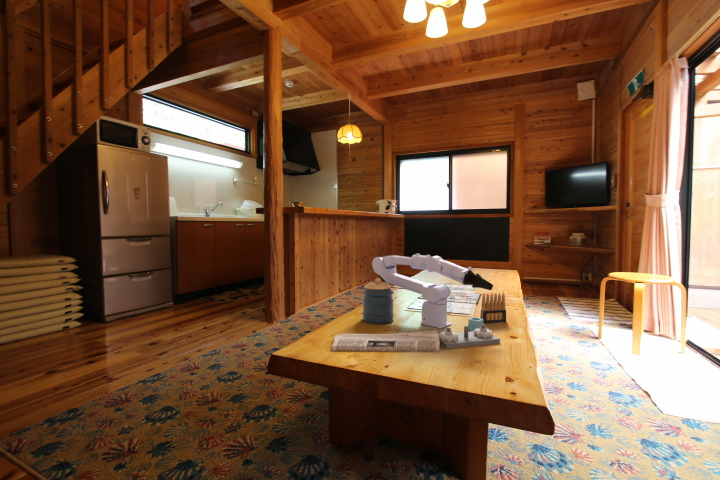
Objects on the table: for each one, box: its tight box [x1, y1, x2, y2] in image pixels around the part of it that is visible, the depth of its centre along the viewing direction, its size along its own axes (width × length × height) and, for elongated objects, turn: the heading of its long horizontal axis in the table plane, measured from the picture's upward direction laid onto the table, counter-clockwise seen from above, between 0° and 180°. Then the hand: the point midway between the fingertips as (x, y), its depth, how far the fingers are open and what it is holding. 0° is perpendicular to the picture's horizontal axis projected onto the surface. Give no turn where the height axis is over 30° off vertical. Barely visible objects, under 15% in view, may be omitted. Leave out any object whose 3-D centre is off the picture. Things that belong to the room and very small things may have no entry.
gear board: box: [438, 324, 501, 350], centre depth 111 cm, size 20×9×5 cm, turn 104°
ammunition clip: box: [479, 291, 507, 325], centre depth 132 cm, size 11×2×12 cm, turn 101°
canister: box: [361, 277, 395, 325], centre depth 136 cm, size 13×13×18 cm
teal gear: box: [467, 316, 484, 332], centre depth 123 cm, size 6×6×4 cm
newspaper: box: [331, 330, 441, 352], centre depth 109 cm, size 35×12×4 cm, turn 89°
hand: (489, 286), depth 115 cm, fingers open, 7 cm apart
